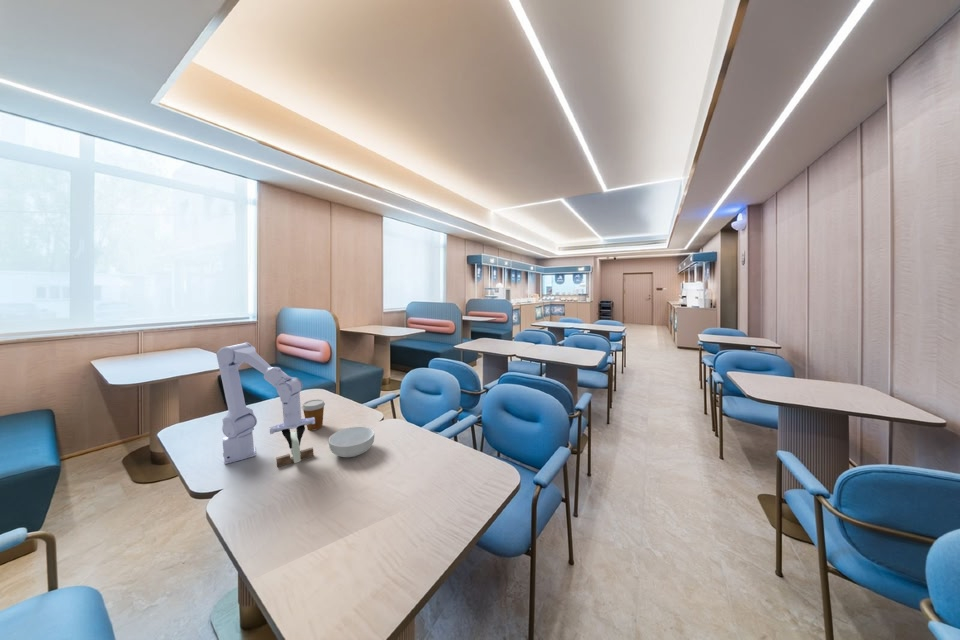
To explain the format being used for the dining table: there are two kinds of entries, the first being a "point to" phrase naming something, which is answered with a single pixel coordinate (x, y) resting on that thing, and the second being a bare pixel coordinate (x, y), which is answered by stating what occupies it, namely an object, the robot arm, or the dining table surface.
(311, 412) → the disposable coffee cup
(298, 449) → the sage slot plate
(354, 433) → the cereal bowl
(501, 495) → the dining table surface
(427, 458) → the dining table surface
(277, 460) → the walnut slot board
